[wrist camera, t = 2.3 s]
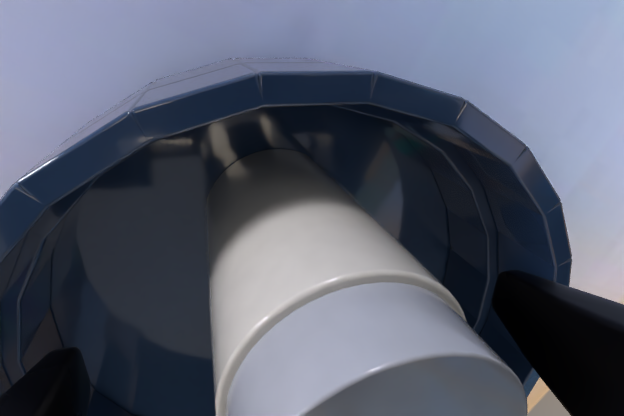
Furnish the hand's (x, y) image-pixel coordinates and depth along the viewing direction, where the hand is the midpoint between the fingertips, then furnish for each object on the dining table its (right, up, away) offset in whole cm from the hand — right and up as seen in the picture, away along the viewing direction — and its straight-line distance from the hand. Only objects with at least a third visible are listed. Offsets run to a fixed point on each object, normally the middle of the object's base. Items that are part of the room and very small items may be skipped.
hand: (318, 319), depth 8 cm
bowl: (-2, -1, +6) cm, 6 cm away
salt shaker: (-1, +2, +5) cm, 5 cm away
